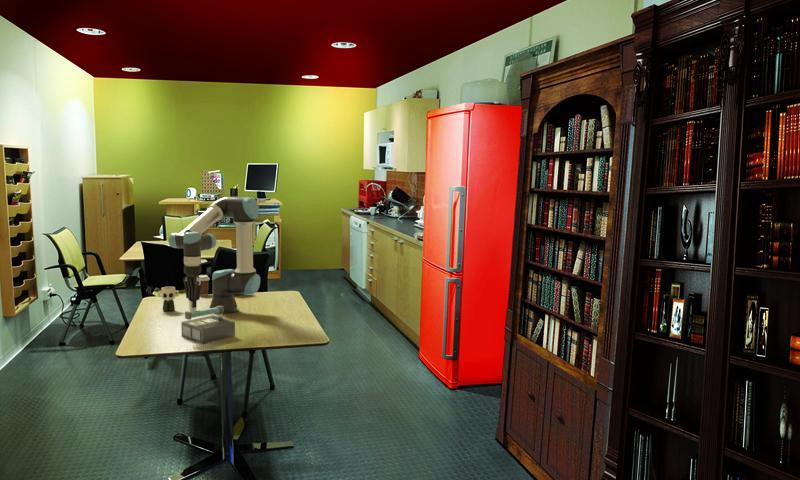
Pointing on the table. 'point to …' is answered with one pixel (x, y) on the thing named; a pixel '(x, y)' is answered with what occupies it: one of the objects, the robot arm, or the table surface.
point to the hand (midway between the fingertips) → (193, 313)
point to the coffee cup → (204, 284)
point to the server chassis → (208, 329)
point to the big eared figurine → (168, 297)
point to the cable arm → (204, 312)
